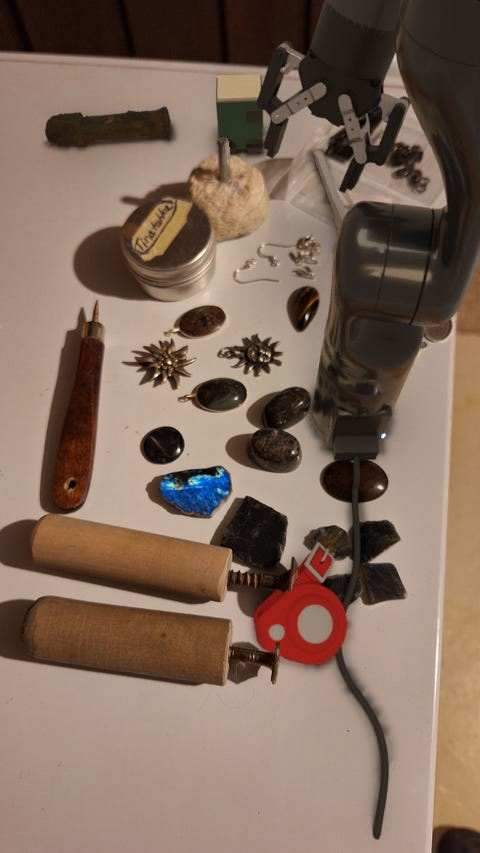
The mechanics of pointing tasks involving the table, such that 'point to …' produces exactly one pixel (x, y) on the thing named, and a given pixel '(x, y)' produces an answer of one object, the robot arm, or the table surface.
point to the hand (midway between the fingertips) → (308, 171)
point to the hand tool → (106, 126)
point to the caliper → (330, 188)
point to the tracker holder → (304, 615)
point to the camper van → (240, 111)
